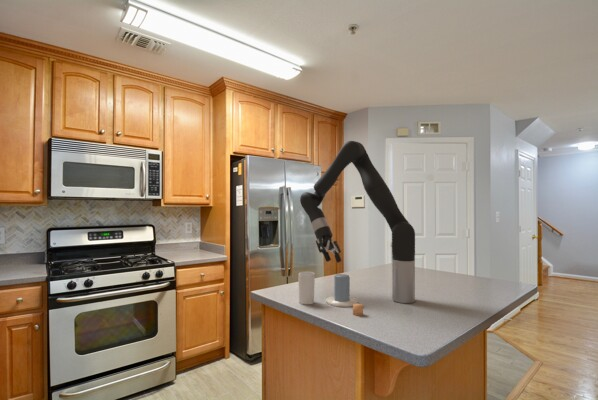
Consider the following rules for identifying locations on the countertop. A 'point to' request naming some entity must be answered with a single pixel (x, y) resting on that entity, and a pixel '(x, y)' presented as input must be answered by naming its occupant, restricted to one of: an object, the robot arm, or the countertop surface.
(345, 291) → the tumbler
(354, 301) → the dish
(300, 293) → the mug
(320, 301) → the countertop surface
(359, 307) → the light brown cube
